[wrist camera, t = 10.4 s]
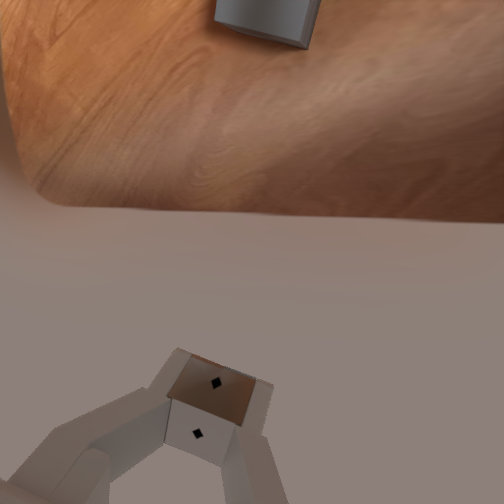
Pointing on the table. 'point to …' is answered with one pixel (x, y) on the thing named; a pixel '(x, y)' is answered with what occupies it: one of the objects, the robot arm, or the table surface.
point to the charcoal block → (271, 19)
